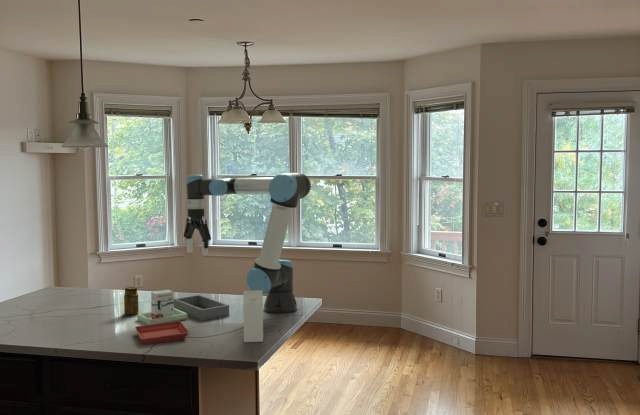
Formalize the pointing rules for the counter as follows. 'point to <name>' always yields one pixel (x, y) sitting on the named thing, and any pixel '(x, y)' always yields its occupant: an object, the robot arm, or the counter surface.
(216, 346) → the counter surface
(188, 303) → the tray
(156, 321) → the tray
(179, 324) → the plant saucer
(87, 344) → the counter surface
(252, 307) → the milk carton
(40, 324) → the counter surface
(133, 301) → the condiment
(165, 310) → the ink box
